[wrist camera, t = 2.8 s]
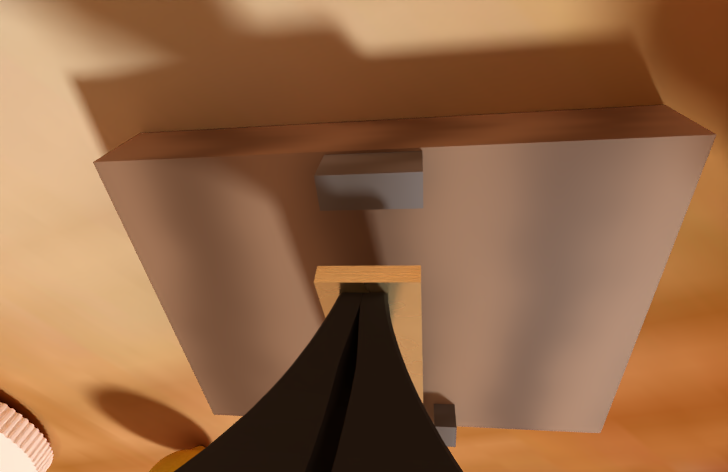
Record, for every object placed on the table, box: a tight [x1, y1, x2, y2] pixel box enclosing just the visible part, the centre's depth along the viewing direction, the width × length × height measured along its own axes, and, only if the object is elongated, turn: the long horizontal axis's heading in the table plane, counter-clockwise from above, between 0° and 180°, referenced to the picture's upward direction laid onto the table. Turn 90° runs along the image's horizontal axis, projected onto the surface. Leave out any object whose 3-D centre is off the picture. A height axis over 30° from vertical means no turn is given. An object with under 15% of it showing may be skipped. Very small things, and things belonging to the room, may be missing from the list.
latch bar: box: [314, 265, 423, 403], centre depth 16 cm, size 3×12×1 cm, turn 5°
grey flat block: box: [93, 105, 716, 447], centre depth 18 cm, size 20×15×5 cm
